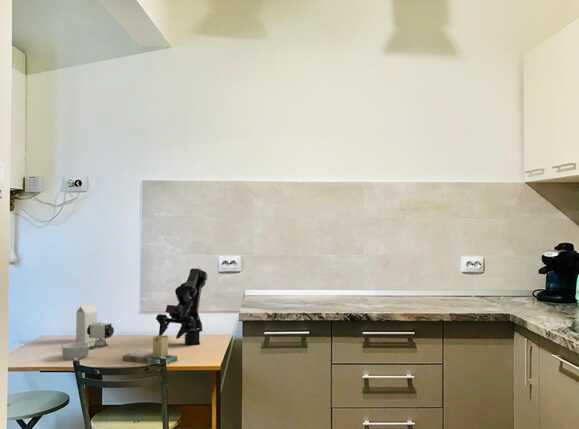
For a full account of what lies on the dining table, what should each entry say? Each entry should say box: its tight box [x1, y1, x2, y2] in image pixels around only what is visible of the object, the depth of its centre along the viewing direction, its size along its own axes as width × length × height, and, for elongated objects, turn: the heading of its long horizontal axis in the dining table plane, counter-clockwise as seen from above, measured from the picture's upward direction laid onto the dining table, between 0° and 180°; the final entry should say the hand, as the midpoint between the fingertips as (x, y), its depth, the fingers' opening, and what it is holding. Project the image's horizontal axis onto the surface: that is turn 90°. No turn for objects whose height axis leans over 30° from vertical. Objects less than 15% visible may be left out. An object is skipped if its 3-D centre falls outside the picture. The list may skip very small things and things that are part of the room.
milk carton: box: [75, 302, 98, 343], centre depth 247 cm, size 7×7×19 cm
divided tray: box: [122, 349, 178, 365], centre depth 211 cm, size 22×9×3 cm, turn 67°
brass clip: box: [152, 334, 169, 360], centre depth 209 cm, size 4×4×11 cm
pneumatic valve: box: [87, 321, 115, 349], centre depth 235 cm, size 6×12×12 cm, turn 79°
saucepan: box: [61, 341, 109, 361], centre depth 217 cm, size 12×20×6 cm, turn 91°
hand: (168, 337), depth 214 cm, fingers open, 9 cm apart
